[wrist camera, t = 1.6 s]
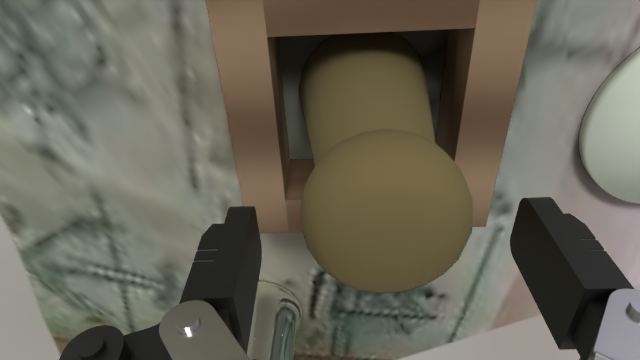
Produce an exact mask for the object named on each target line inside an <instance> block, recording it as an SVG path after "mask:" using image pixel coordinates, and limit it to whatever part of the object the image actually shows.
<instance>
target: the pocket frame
mask: <svg viewBox="0 0 640 360" xmlns="http://www.w3.org/2000/svg"><path fill="white" fill-rule="evenodd" d="M536 3H537V0H206V5H207V10H208V16H209V21H210V27H211V32H212V38H213V43H214V49H215V54H216V60H217V65H218V70H219V76H220V81H221V87H222V92H223V98H224V103H225V109H226V114H227V119H228V125H229V130H230V136H231V141H232V147H233V152H234V158H235V163H236V169H237V174H238V179H239V185H240V190H241V196H242V201H243V206H254V207H255V210H256V215H257V222H258V228H259V233H289V232H303V229H302V224H301V220H300V211H301V203H302V197H303V192H304V187H305V184H306V182H307V180H308V178H309V176H310V174H311V172H312V171H313V169H314V168H315V164H314V159H302V160H290V158H289V148H288V138H287V128H286V118H285V107H284V97H283V87H282V77H281V67H280V57H279V47H278V37H281V36H304V35H327V34H350V33H374V32H397V31H420V30H443V29H449V35H448V43H447V51H446V59H445V67H444V75H443V83H442V91H441V100H440V108H439V116H438V124H437V132H436V140H435V142H436V144H437V145H438V146H439V147H440V148H442V149H443V150H444V151H445V152H446V153H447V154H448V155H449V157H450V158H451V159H452V160H453V161H454V162H455V163H456V164H457V165H458V166H459V167H460V169H461V171H462V173H463V175H464V177H465V180H466V182H467V185H468V188H469V191H470V193H471V196H472V199H473V221H472V227H485V226H486V223H487V218H488V214H489V210H490V205H491V201H492V196H493V192H494V188H495V183H496V179H497V175H498V170H499V166H500V161H501V157H502V153H503V148H504V144H505V139H506V135H507V131H508V126H509V122H510V117H511V113H512V109H513V104H514V100H515V95H516V91H517V87H518V82H519V78H520V74H521V69H522V65H523V60H524V56H525V52H526V47H527V43H528V38H529V34H530V30H531V25H532V21H533V16H534V12H535V8H536Z"/></svg>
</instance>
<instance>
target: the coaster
mask: <svg viewBox="0 0 640 360" xmlns="http://www.w3.org/2000/svg"><path fill="white" fill-rule="evenodd" d="M579 152H580V156H581V160H582V163H583V165H584V167H585V169H586V170H587V172H588V173H589V175H590V176H591V177H592V178H593V179H594V181H595V182H596V183H597V184H598V185H599V186H600V187H601V188H602V189H603V190H604V191H606V192H607V193H609V194H610V195H612V196H614V197H616V198H618V199H621V200H624V201H628V202H631V203H638V204H640V48H638V49H637V50H636V51H635V52H633V53H632V54H631V55H630V56H628V57H627V58H626V59H625V60H624V61H623V62H622V63H621V64H620V65H619V66H618V67H617V68H616V69H614V70H613V72H612V73H611V74H610V75H609V76H608V77H607V79H606V80H605V81H604V82H603V83H602V85H601V86H600V88H599V89H598V91H597V92H596V93H595V95H594V97H593V99H592V100H591V102H590V104H589V106H588V108H587V110H586V113H585V115H584V118H583V121H582V124H581V128H580V134H579Z"/></svg>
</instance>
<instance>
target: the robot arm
mask: <svg viewBox="0 0 640 360" xmlns="http://www.w3.org/2000/svg"><path fill="white" fill-rule="evenodd" d="M510 247H511V253H512V256H513V258H514V260H515V262H516V264H517V266H518V268H519V270H520V272H521V274H522V276H523V278H524V280H525V282H526V284H527V286H528V288H529V290H530V292H531V294H532V296H533V298H534V300H535V302H536V304H537V306H538V308H539V310H540V312H541V314H542V316H543V318H544V320H545V322H546V324H547V326H548V328H549V330H550V332H551V334H552V336H553V338H554V340H555V342H556V344H557V346H558V348H559V349H577V351H578V353H579V355H580V359H579V360H640V291H639V290H635V289H634V288H633V287H632V285H631V284H630V283H629V281H628V280H627V279H626V277H625V276H624V275H623V273H622V272H621V271H620V269H619V268H618V267H617V265H616V264H615V263H614V262H613V260H612V259H611V258H610V256H609V255H608V254H607V252H606V251H604V250H603V249H604V248H603V247H602V246H601V244H600V243H599V242H598V240H595V236H594V235H593V234H592V232H591V231H590V230H589V229H588V227H587V226H586V225H585V224H584V223H582V222H581V221H580V220H578V219H577V218H575V217H574V216H573V215H571V214H563V213H562V211H561V210H560V208H559V207H558V206H557V204H556V203H555V201H554V200H553V199H552V198H550V197H540V198H523V199H522V200H521V201H520V204H519V207H518V211H517V215H516V219H515V222H514V226H513V230H512V234H511V238H510ZM261 258H262V250H261V240H260V234H259V228H258V222H257V215H256V210H255V207H254V206H242V207H230V208H229V209H228V213H227V216H226V220H225V224H212V225H211V226H210V228H209V229H208V230H207V231H206V232H205V233H204V234H203V235H202V237H201V240H200V243H199V246H198V252H196V255H195V258H194V262H193V264H192V267H191V270H190V273H189V276H188V279H187V282H186V285H185V288H184V291H183V294H182V297H181V300H180V303H179V304H178V305H176V306H175V307H173V308H172V309H171V310H169V311H168V312H167V313H166V314H165V316H164V317H163V319H162V320H161V322H160V323H159V324H157V325H155V326H153V327H150V328H147V329H144V330H141V331H137V332H134V333H131V334H127V335H124V336H123V334H122V332H121V331H120V330H119V329H117V328H116V327H113V326H108V325H103V326H97V327H93V328H90V329H88V330H86V331H84V332H82V333H80V334H79V335H77V336H76V337H75V338H74V339H73V340H72V341H71V342H70V343H69V344H68V345H67V346H66V348H65V349H64V351H63V353H62V355H61V357H60V359H59V360H251V359H250V358H249V357H248V356H247V350H248V344H249V337H250V331H251V325H252V318H253V312H254V305H255V299H256V293H257V286H258V280H259V273H260V267H261ZM253 360H256V359H253Z"/></svg>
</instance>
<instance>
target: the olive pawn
mask: <svg viewBox="0 0 640 360" xmlns="http://www.w3.org/2000/svg"><path fill="white" fill-rule="evenodd" d="M299 91H300V97H301V102H302V108H303V113H304V117H305V122H306V127H307V131H308V136H309V141H310V145H311V150H312V155H313V159H314V164H315V168H314V169H313V171H312V172H311V174H310V176H309V178H308V180H307V182H306V184H305V187H304V192H303V197H302V203H301V211H300V220H301V224H302V229H303V234H304V238H305V241H306V244H307V248H308V249H309V251H310V252H311V254H312V255H313V257H314V258H315V260H316V261H317V263H318V264H319V265H320V266H321V267H322V268H323V269H324V270H325V271H326V272H327V273H328V274H329V275H331V276H332V277H334V278H335V279H336V280H338V281H339V282H340V283H342V284H344V285H347V286H350V287H352V288H355V289H358V290H361V291H368V292H376V293H390V292H401V291H407V290H410V289H413V288H416V287H420V286H423V285H426V284H427V283H429V282H431V281H433V280H434V279H436V278H438V277H440V276H441V275H443V274H444V273H445V272H446V271H447V270H448V269H449V268H450V267H451V266H452V265H453V264H454V263H455V262H456V261H457V260H458V259H459V257H460V255H461V253H462V251H463V249H464V247H465V245H466V243H467V241H468V239H469V237H470V234H471V232H472V221H473V199H472V196H471V193H470V191H469V188H468V185H467V182H466V180H465V177H464V175H463V173H462V171H461V169H460V167H459V166H458V165H457V164H456V163H455V162H454V161H453V160H452V159H451V158H450V157H449V155H448V154H447V153H446V152H445V151H444V150H443V149H442V148H440V147H439V146H438V145H437V144H436V142H435V136H434V129H433V123H432V116H431V109H430V103H429V96H428V89H427V83H426V76H425V71H424V69H423V66H422V63H421V60H420V58H419V55H418V54H417V52H416V51H415V50H414V49H413V48H412V47H411V45H410V44H409V43H408V42H407V41H406V40H405V39H403V38H402V37H400V36H398V35H396V34H394V33H393V32H374V33H350V34H334V35H332V36H330V37H328V38H326V39H325V40H324V41H323V42H322V43H321V44H320V45H319V46H318V47H317V48H316V49H315V50H314V51H313V52H312V53H311V54H310V56H309V58H308V60H307V62H306V64H305V66H304V68H303V70H302V74H301V80H300V86H299Z"/></svg>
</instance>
